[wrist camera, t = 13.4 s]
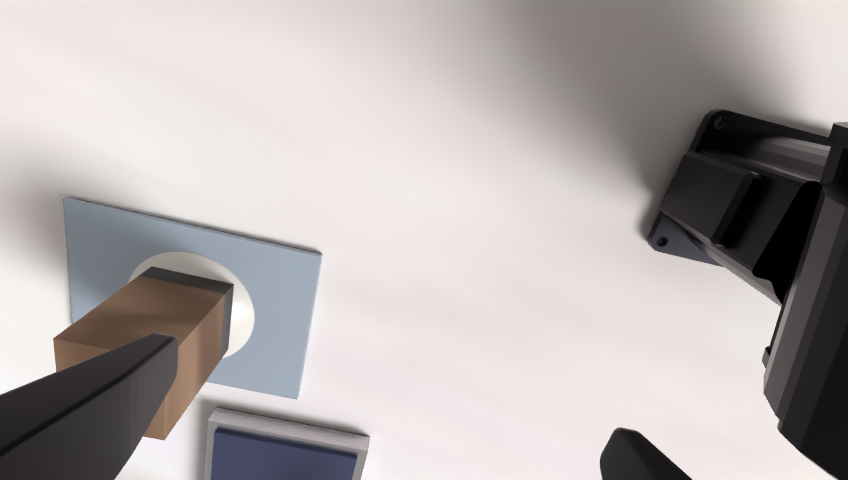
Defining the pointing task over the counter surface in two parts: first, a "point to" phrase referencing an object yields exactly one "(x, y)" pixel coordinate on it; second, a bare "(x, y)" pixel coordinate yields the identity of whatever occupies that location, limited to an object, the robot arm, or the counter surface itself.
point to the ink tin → (279, 449)
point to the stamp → (158, 331)
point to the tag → (210, 258)
